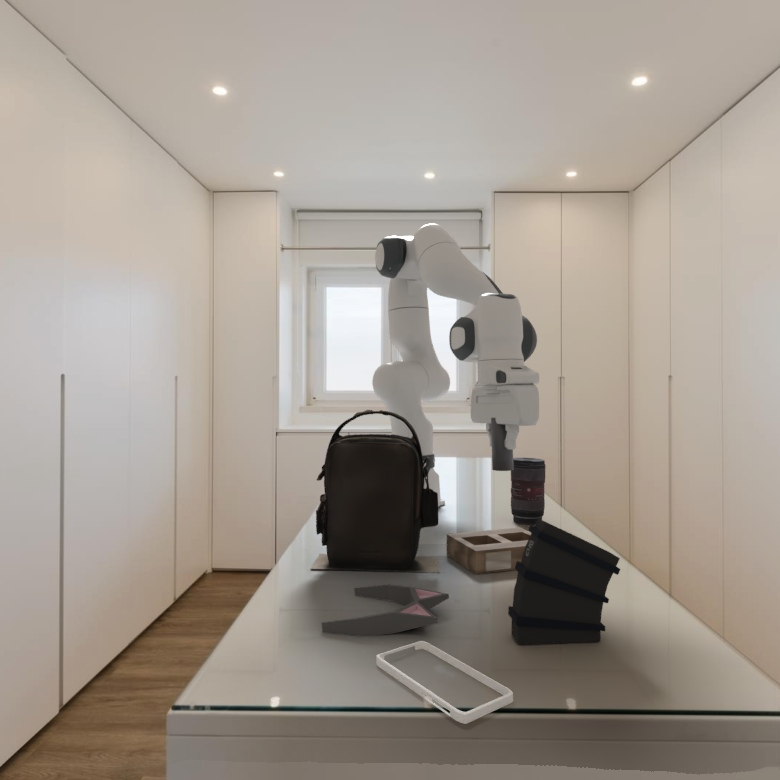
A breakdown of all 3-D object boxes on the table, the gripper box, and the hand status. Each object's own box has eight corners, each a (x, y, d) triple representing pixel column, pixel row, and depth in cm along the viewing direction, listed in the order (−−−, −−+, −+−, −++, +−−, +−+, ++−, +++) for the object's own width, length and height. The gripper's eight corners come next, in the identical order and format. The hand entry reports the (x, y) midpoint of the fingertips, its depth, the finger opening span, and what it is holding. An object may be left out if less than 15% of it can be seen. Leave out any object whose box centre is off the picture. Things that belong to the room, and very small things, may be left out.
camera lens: (546, 526, 132) (546, 461, 132) (510, 524, 133) (510, 460, 133) (544, 518, 140) (544, 457, 139) (510, 516, 141) (510, 456, 141)
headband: (354, 583, 88) (450, 582, 84) (356, 603, 88) (452, 603, 84) (320, 618, 74) (432, 618, 70) (322, 642, 74) (435, 643, 70)
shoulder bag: (438, 557, 107) (438, 409, 107) (439, 573, 98) (440, 411, 98) (319, 555, 109) (319, 408, 109) (310, 570, 100) (310, 410, 99)
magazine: (485, 622, 73) (534, 516, 74) (574, 662, 74) (622, 557, 75) (493, 634, 70) (544, 523, 70) (586, 676, 71) (636, 566, 71)
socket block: (446, 555, 109) (446, 534, 109) (519, 547, 114) (519, 527, 114) (476, 575, 97) (477, 551, 97) (556, 565, 102) (556, 543, 102)
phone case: (515, 705, 58) (423, 650, 70) (516, 692, 58) (423, 639, 70) (462, 729, 54) (373, 666, 66) (463, 715, 54) (373, 655, 66)
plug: (488, 469, 110) (487, 417, 111) (506, 467, 112) (505, 416, 112) (498, 471, 107) (497, 418, 107) (517, 470, 108) (516, 417, 108)
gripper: (462, 378, 118) (463, 445, 118) (513, 373, 99) (515, 453, 99) (489, 378, 120) (490, 443, 120) (544, 373, 101) (546, 451, 101)
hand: (502, 448), depth 109 cm, fingers closed on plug, 4 cm apart
